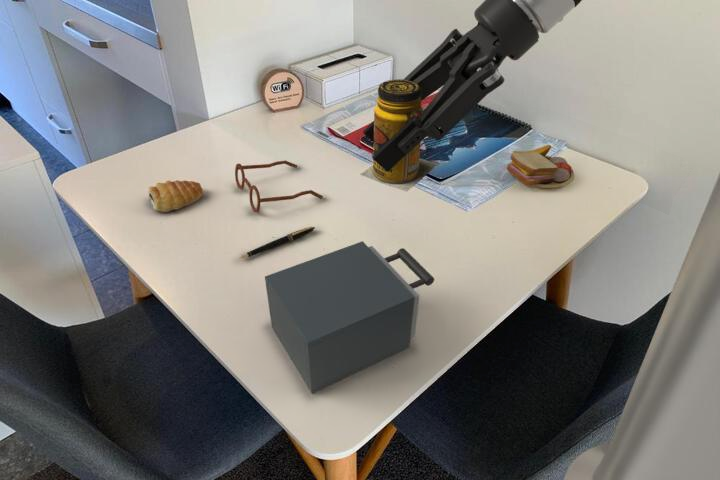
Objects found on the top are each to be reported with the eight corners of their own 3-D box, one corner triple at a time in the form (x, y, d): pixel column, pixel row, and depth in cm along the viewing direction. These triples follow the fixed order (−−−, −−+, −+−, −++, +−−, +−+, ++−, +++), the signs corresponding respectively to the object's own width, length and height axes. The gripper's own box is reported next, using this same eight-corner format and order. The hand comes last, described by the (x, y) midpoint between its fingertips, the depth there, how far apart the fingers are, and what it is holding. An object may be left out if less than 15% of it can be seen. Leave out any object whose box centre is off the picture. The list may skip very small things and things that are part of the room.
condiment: (359, 175, 69) (360, 88, 62) (393, 150, 75) (398, 67, 67) (406, 193, 66) (413, 103, 58) (438, 165, 71) (448, 80, 64)
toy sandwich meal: (585, 188, 101) (592, 166, 98) (522, 196, 99) (527, 175, 96) (552, 156, 111) (558, 136, 108) (493, 163, 108) (497, 143, 105)
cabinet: (361, 290, 78) (362, 240, 72) (409, 347, 70) (414, 296, 64) (271, 327, 73) (264, 276, 67) (311, 394, 64) (307, 343, 58)
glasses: (234, 183, 101) (231, 160, 98) (297, 167, 106) (295, 145, 103) (257, 218, 92) (254, 195, 89) (324, 199, 97) (323, 176, 94)
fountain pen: (240, 263, 83) (239, 256, 82) (237, 259, 84) (235, 252, 83) (317, 232, 90) (317, 225, 89) (313, 228, 90) (313, 221, 89)
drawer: (393, 276, 80) (396, 236, 75) (439, 325, 72) (445, 284, 67) (288, 319, 73) (283, 278, 68) (325, 378, 65) (323, 336, 60)
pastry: (196, 184, 101) (193, 167, 98) (209, 202, 96) (205, 184, 94) (147, 199, 97) (142, 181, 94) (157, 218, 92) (152, 200, 90)
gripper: (576, 64, 54) (410, 208, 62) (507, 12, 68) (380, 134, 76) (539, 11, 50) (367, 172, 58) (474, -31, 64) (344, 102, 72)
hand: (375, 150), depth 67 cm, fingers closed on condiment, 6 cm apart
